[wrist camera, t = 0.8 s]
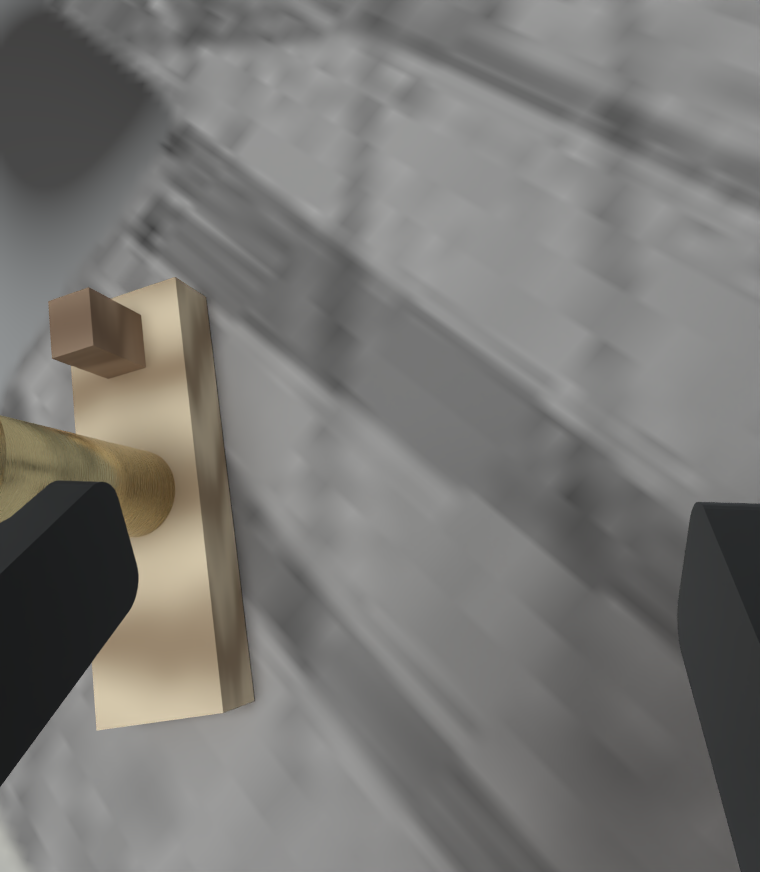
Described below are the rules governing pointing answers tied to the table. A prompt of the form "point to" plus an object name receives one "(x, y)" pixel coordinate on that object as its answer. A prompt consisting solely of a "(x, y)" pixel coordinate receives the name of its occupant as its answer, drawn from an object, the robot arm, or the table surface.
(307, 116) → the table surface
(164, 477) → the brass flanged cylinder
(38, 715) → the robot arm
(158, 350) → the body
